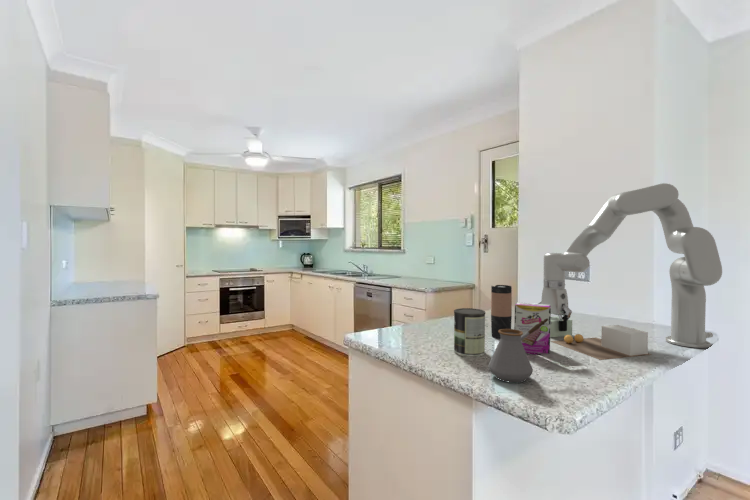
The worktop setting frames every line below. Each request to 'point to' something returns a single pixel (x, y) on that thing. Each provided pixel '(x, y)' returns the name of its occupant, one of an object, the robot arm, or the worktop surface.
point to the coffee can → (469, 332)
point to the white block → (624, 340)
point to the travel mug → (500, 309)
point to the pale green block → (555, 328)
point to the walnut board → (594, 349)
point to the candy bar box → (527, 319)
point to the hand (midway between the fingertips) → (553, 328)
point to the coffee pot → (512, 355)
